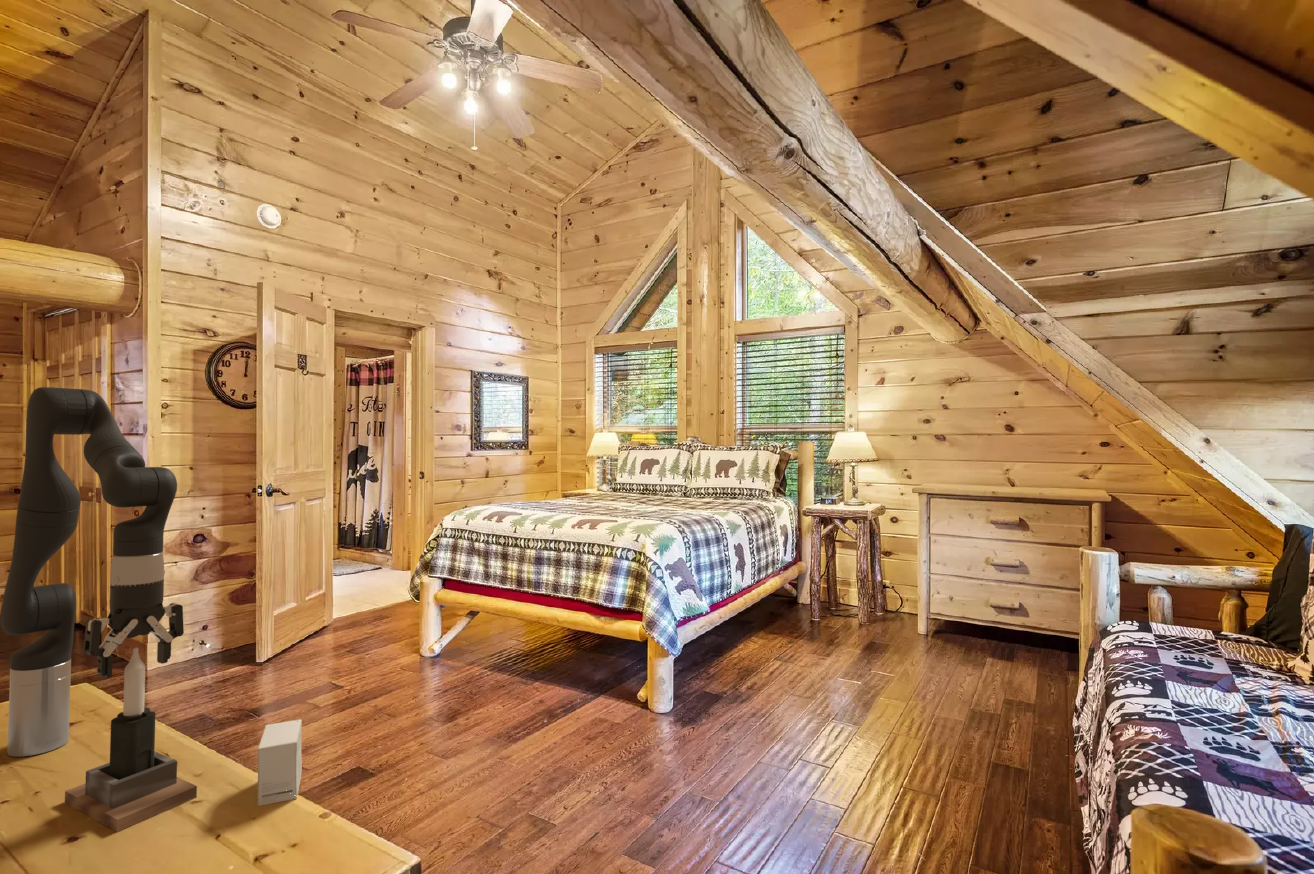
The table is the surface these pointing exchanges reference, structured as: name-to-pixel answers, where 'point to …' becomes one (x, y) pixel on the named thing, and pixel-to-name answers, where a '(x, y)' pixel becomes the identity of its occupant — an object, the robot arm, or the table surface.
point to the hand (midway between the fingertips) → (135, 669)
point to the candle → (132, 726)
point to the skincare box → (279, 762)
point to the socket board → (131, 794)
